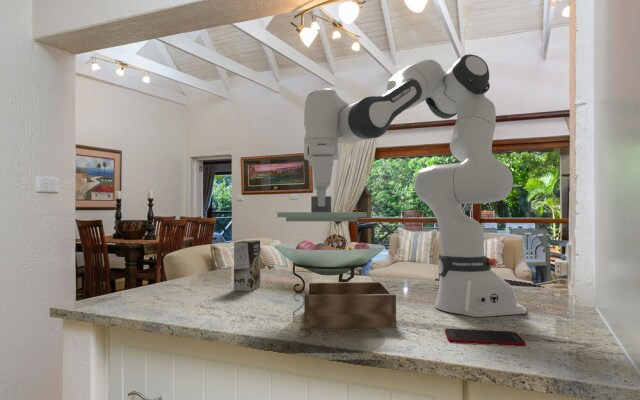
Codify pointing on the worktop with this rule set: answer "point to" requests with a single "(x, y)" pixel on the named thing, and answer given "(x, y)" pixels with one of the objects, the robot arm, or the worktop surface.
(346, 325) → the box
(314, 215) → the lid
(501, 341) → the cell phone
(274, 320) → the worktop surface
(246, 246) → the coffee box
